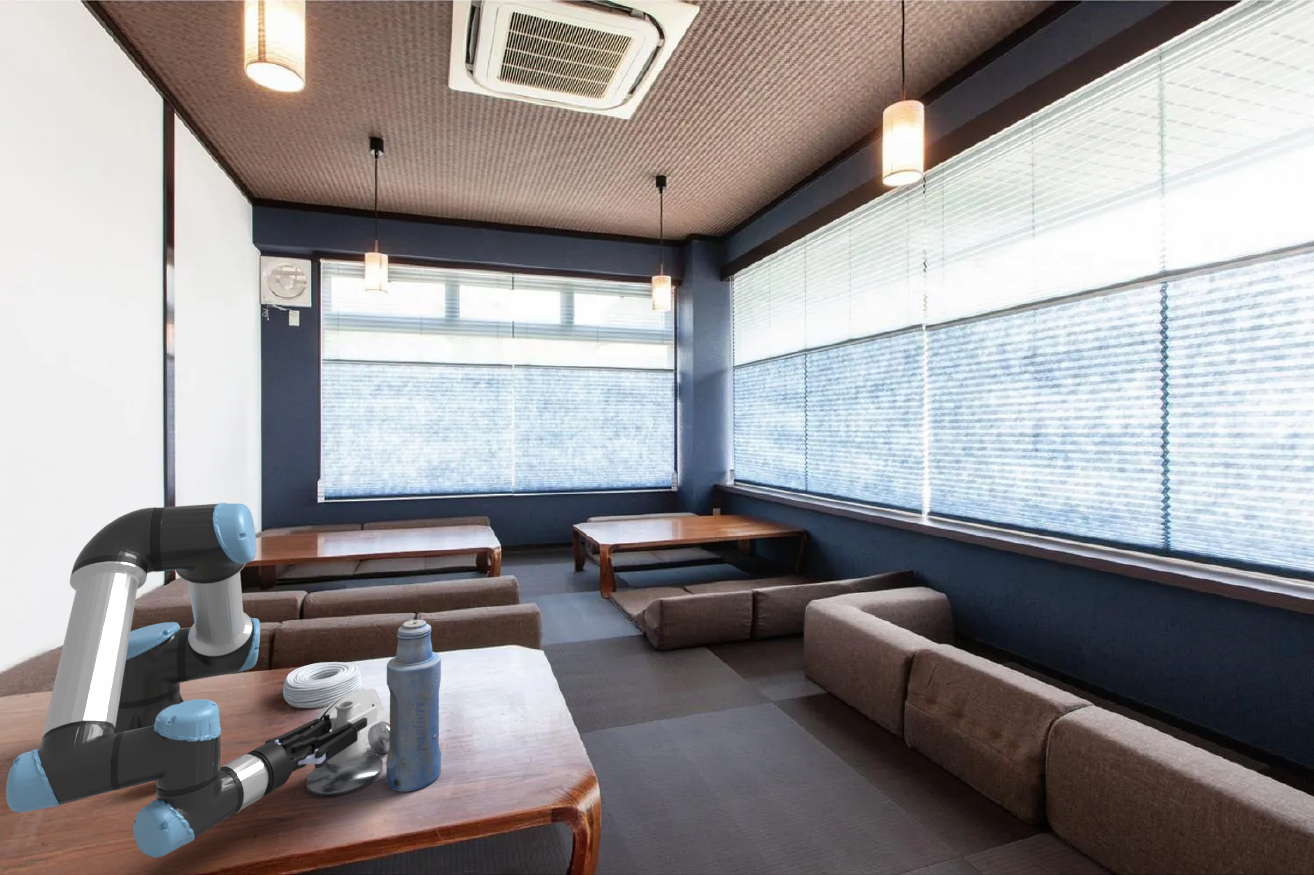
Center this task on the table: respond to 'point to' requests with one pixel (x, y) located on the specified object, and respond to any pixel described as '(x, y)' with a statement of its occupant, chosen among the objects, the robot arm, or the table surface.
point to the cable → (321, 684)
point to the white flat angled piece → (368, 701)
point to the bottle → (414, 710)
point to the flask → (356, 748)
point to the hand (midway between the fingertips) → (367, 711)
